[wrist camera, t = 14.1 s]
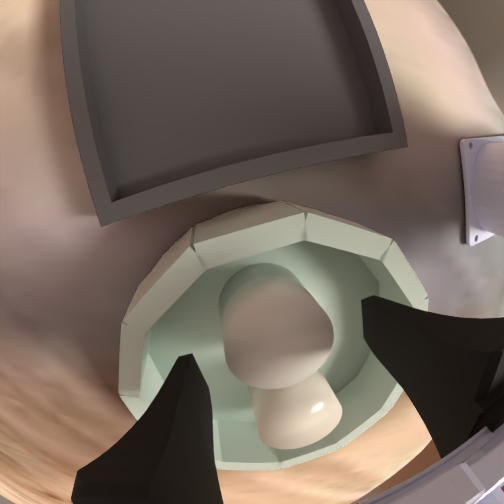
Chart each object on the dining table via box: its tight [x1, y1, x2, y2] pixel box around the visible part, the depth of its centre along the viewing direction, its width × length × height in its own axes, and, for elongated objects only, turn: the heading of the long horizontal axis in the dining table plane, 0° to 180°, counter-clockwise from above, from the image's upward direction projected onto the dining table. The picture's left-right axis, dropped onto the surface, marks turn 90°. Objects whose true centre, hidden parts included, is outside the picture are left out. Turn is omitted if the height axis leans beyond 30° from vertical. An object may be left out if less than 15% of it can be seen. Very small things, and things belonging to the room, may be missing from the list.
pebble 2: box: [247, 368, 342, 449], centre depth 15 cm, size 4×4×4 cm
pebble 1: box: [218, 263, 334, 389], centre depth 13 cm, size 4×4×4 cm
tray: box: [60, 0, 408, 227], centre depth 10 cm, size 15×16×2 cm
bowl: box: [119, 201, 428, 470], centre depth 15 cm, size 16×16×4 cm
